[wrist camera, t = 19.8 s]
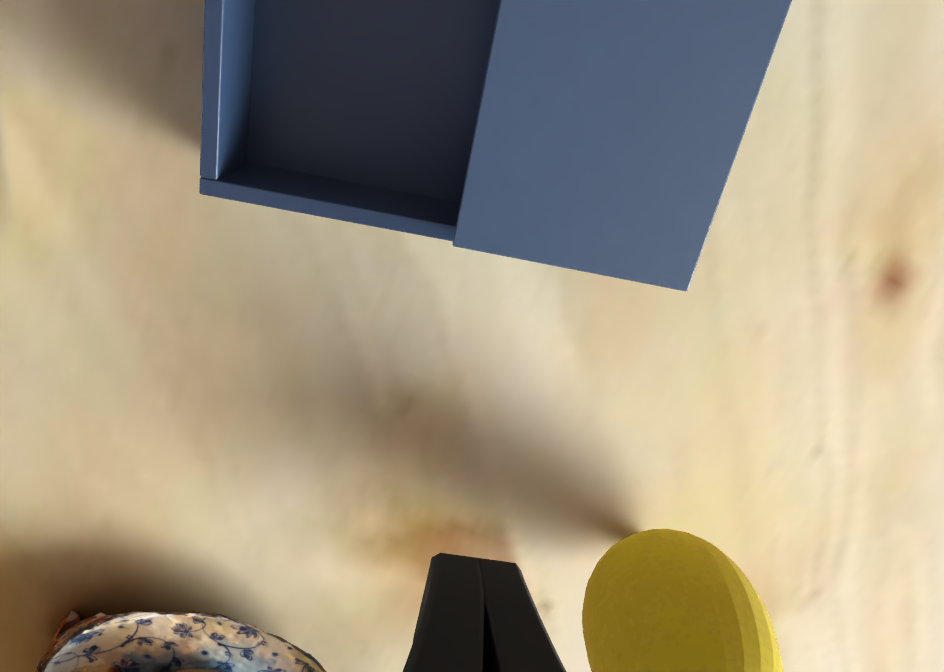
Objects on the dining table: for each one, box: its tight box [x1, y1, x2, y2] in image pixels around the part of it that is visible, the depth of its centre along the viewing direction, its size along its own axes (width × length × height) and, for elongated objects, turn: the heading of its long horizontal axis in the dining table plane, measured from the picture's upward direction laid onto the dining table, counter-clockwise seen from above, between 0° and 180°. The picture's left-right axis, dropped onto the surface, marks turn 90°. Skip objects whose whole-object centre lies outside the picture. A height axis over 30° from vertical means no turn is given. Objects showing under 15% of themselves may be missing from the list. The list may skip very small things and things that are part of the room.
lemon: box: [582, 529, 783, 672], centre depth 20 cm, size 6×6×8 cm
